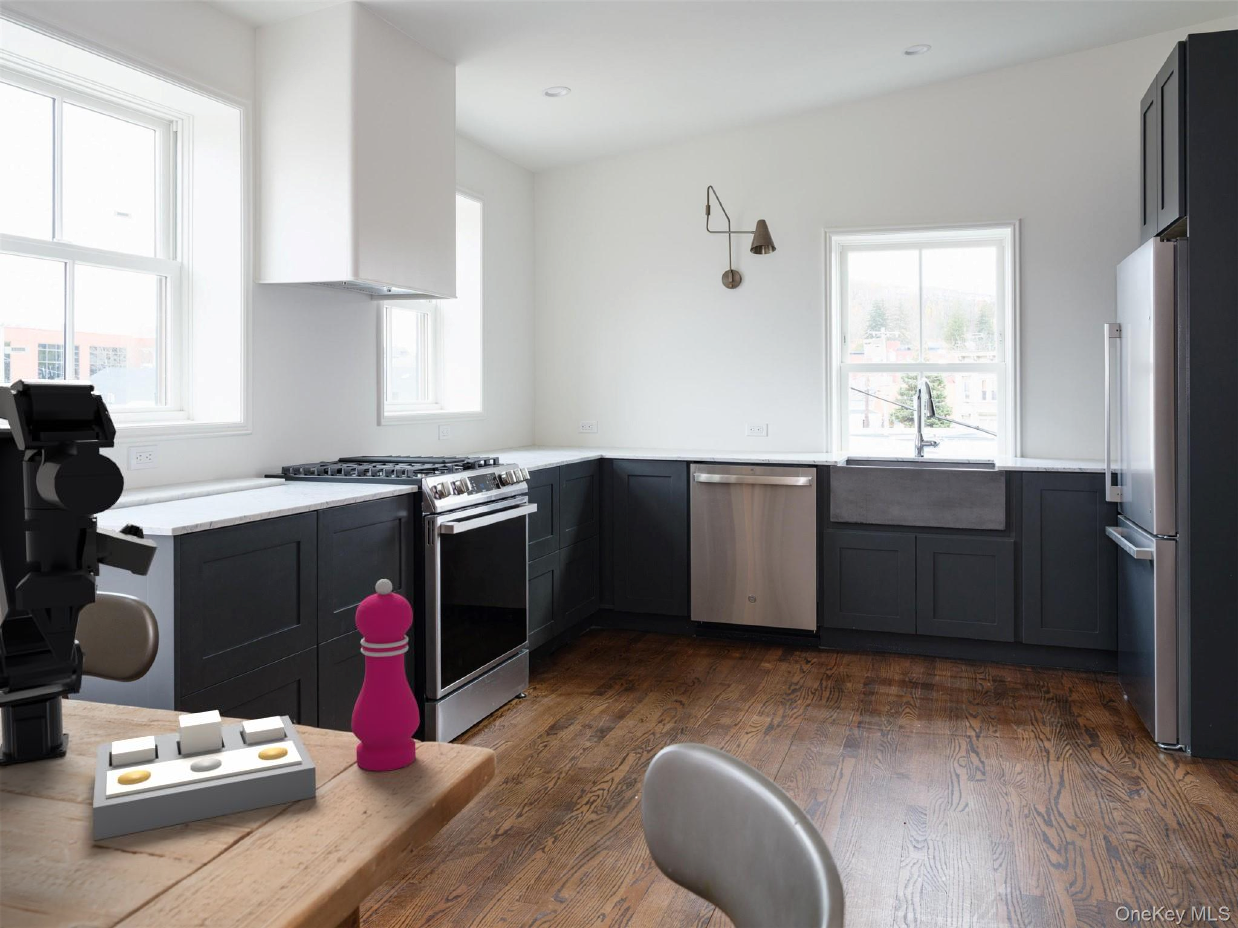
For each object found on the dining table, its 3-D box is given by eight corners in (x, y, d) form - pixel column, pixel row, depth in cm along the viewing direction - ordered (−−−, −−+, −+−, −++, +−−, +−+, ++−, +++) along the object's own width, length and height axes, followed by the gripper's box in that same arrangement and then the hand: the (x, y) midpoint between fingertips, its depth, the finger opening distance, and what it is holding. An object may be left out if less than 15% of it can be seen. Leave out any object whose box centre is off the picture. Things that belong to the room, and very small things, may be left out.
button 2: (242, 750, 99) (242, 721, 99) (279, 743, 101) (278, 715, 100) (247, 762, 95) (246, 732, 95) (284, 755, 97) (284, 726, 97)
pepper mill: (402, 775, 94) (400, 587, 93) (339, 770, 96) (336, 584, 94) (430, 750, 101) (428, 574, 100) (371, 745, 103) (368, 571, 102)
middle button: (179, 745, 96) (178, 715, 96) (218, 738, 98) (217, 710, 97) (181, 757, 92) (180, 726, 92) (221, 750, 94) (221, 720, 94)
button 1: (113, 772, 93) (112, 741, 93) (154, 765, 95) (153, 735, 94) (113, 785, 90) (111, 754, 89) (155, 778, 91) (154, 747, 91)
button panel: (98, 772, 95) (97, 739, 95) (288, 740, 104) (287, 711, 104) (94, 840, 80) (92, 802, 80) (315, 796, 89) (315, 762, 89)
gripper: (153, 511, 85) (158, 674, 86) (148, 494, 101) (152, 631, 102) (11, 518, 80) (18, 691, 81) (30, 499, 96) (36, 643, 97)
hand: (65, 661), depth 90 cm, fingers closed
